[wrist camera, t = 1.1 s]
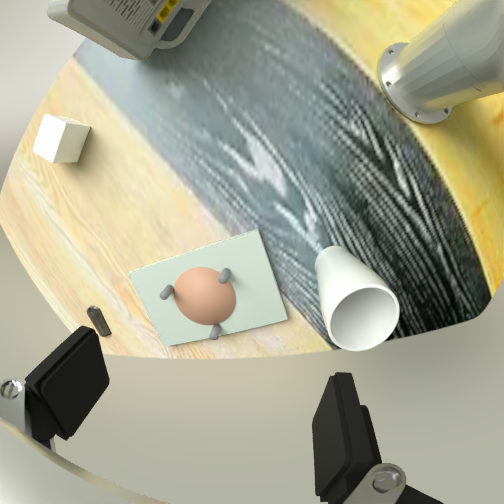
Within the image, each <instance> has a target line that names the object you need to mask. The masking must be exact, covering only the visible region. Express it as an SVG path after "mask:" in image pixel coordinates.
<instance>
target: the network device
mask: <svg viewBox="0 0 504 504" xmlns="http://www.w3.org/2000/svg"><path fill="white" fill-rule="evenodd" d="M211 1H212V0H50V2H49V4H48V7H47V14H48V17H49V18H50V19H52V20H54V21H56V22H58V23H60V24H63V25H64V26H66V27H68V28H70V29H72V30H74V31H76V32H78V33H80V34H81V35H83V36H85V37H87V38H89V39H90V40H92V41H94V42H96V43H98V44H99V45H101V46H103V47H104V48H106V49H108V50H110V51H111V52H113V53H115V54H116V55H118V56H120V57H122V58H128V59H133V60H138V61H145V60H147V59H148V58H149V57H150V55H151V53H152V52H153V50H154V48H159V49H170V48H173V47H175V46H178V45H179V44H181V43H182V42H183V41H184V40H185V39H186V37H187V36H188V34H189V33H190V31H191V30H192V28H193V27H194V25H195V24H196V22H197V21H198V19H199V18H200V16H201V15H202V14H203V12H204V11H205V9H206V8H207V7H208V5H209V4H210V3H211ZM181 8H184V9H191V10H194V14H193V15H192V17H191V18H190V20H189V21H188V22H187V24H186V25H185V27H184V28H183V30H182V32H181V33H180V35H179V36H178V38H176V39H175V40H173V41H169V42H168V41H162V40H160V38H161V37H162V35H163V34H164V32H165V31H166V29H167V27H168V26H169V24H170V23H171V21H172V20H173V18H174V17H175V16H176V14H177V13H178V11H179V10H180V9H181Z"/></svg>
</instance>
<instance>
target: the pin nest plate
mask: <svg viewBox="0 0 504 504" xmlns="http://www.w3.org/2000/svg"><path fill="white" fill-rule="evenodd" d="M128 274H129V276H130V278H131V280H132V283H133V285H134V287H135V289H136V291H137V293H138V295H139V298H140V300H141V302H142V304H143V306H144V308H145V310H146V312H147V314H148V316H149V318H150V320H151V322H152V324H153V326H154V328H155V329H156V331H157V333H158V335H159V337H160V339H161V341H162V342H163V344H164V346H170V345H175V344H181V343H186V342H191V341H197V340H202V339H207V338H211V339H212V340H217V339H218V336H221V335H226V334H230V333H235V332H239V331H243V330H248V329H252V328H256V327H260V326H264V325H268V324H272V323H276V322H280V321H284V320H287V319H288V315H287V311H286V308H285V305H284V302H283V299H282V296H281V293H280V290H279V287H278V284H277V281H276V278H275V275H274V272H273V269H272V267H271V264H270V261H269V258H268V255H267V252H266V249H265V246H264V243H263V240H262V237H261V234H260V231H259V228H258V229H255V230H252V231H249V232H246V233H243V234H239V235H236V236H233V237H230V238H227V239H224V240H221V241H218V242H215V243H212V244H209V245H206V246H203V247H200V248H197V249H194V250H191V251H188V252H185V253H182V254H179V255H176V256H173V257H170V258H167V259H164V260H161V261H158V262H155V263H152V264H149V265H146V266H144V267H141V268H138V269H135V270H132V271H131V272H129V273H128Z"/></svg>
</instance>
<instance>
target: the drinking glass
mask: <svg viewBox="0 0 504 504" xmlns="http://www.w3.org/2000/svg"><path fill="white" fill-rule="evenodd" d="M315 272H316V275H317V282H318V290H319V300H320V307H321V312H322V316H323V320H324V323H325V325H326V328H327V331H328V334H329V336H330V338H331V340H332V341H333V342H334V343H335V344H336V345H337V346H339V347H340V348H342V349H344V350H348V351H365V350H368V349H371V348H374V347H376V346H378V345H379V344H381V343H382V342H383V341H385V340H386V339H387V338H388V337H389V336H390V334H391V333H392V332H393V330H394V329H395V327H396V325H397V322H398V319H399V311H400V310H399V303H398V300H397V298H396V296H395V295H394V293H393V292H392V291H391V289H390V288H389V287H388V285H387V284H386V283H385V282H384V280H383V279H382V278H381V277H380V276H379V275H378V274H377V273H375V272H374V271H373V270H372V269H370V268H369V267H368V266H367V265H365V264H364V263H363V262H361V261H360V260H359V259H357V258H356V257H355V256H353V255H352V254H351V253H350V252H349V251H348V250H347V249H346V248H344V247H341V246H330V247H327V248H325V249H324V250H322V251H321V252H320V253H319V255H318V256H317V258H316V261H315Z"/></svg>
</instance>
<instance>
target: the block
mask: <svg viewBox="0 0 504 504" xmlns="http://www.w3.org/2000/svg"><path fill="white" fill-rule="evenodd" d="M87 314H88V316H89V317H90V319H91V321H92V322H93V324H94V326H95V327H96V329H97V331H98V332H99V334H100V335H101V336H102V337H103V336H107V335H109V334H111V331H110V329H109V327H108V325H107V323H106V321H105V319H104V317H103V315H102V313H101V310H100V309H99V308H98V307H95V306H90V307H89V308H88V309H87Z"/></svg>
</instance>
